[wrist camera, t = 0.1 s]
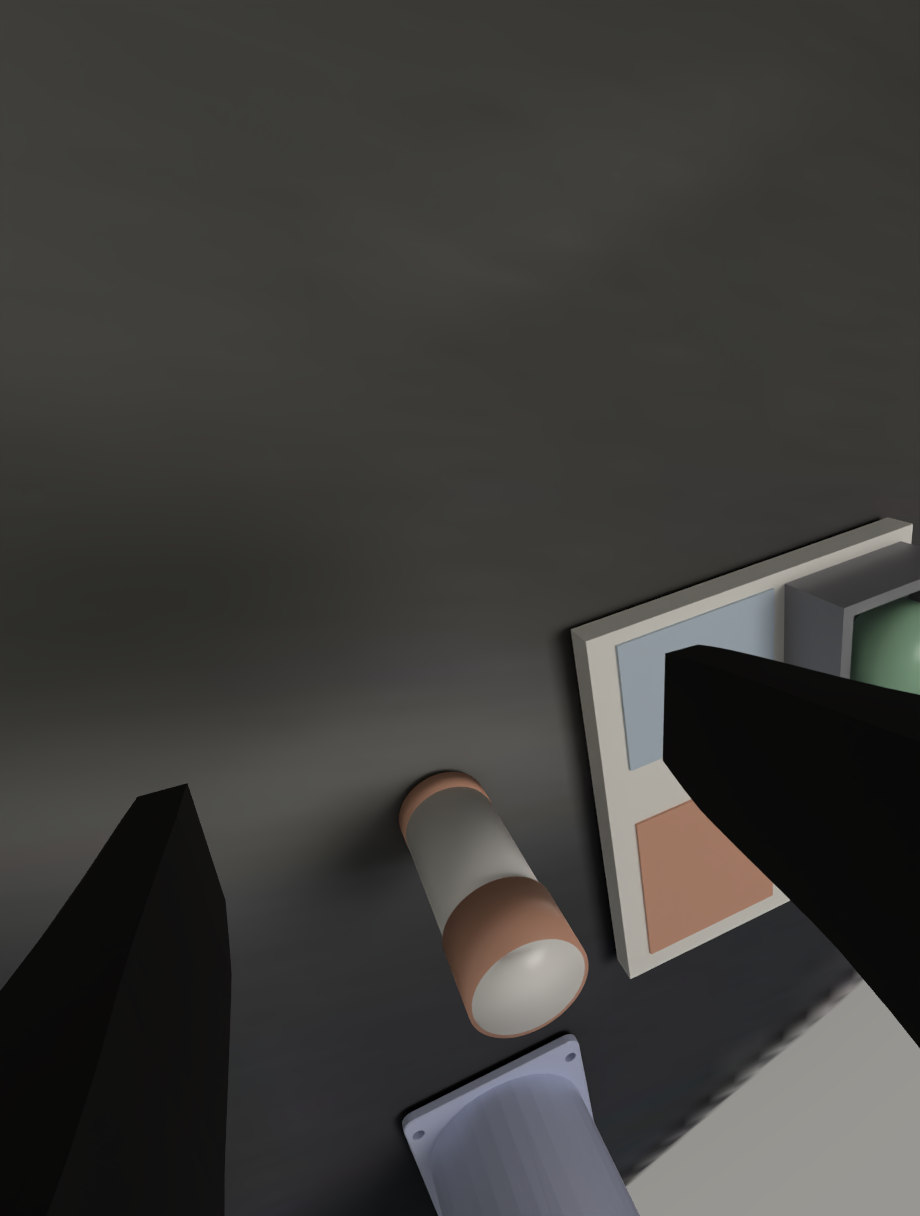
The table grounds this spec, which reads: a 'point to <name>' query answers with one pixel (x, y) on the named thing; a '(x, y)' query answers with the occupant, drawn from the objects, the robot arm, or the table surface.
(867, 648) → the button
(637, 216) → the table surface
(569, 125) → the table surface
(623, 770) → the board
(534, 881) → the orange and grey cylinder
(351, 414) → the table surface
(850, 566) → the button housing
